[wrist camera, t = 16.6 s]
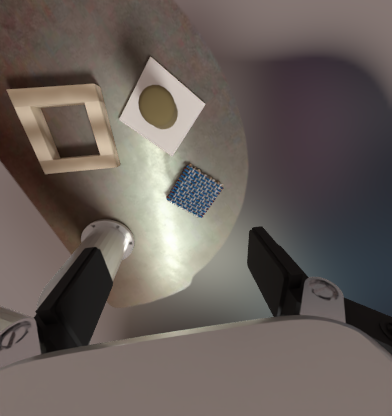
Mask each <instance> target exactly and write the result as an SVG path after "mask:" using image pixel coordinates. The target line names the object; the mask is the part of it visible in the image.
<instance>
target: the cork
mask: <svg viewBox="0 0 392 416" xmlns="http://www.w3.org/2000/svg"><path fill="white" fill-rule="evenodd" d="M138 104H139V110H140V113H141V115H142V117H143V118H144V119H145V121H147V122H148V123H149V124H151V125H153V126H155V127H156V128H159V129H168V128H170V127H172V126H173V125H174V124H175V122H176V120H177V117H178V110H177V106H176V104H175V102H174V99H173V97H172V95H171V93H170V92H169V91H168V90H167V89H166V88H165V87H162V86H160V85H150V86H147V87H146V88H145V89H144V90H143V91H142V92H141V94H140V96H139V101H138Z"/></svg>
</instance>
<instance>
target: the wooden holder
mask: <svg viewBox="0 0 392 416" xmlns="http://www.w3.org/2000/svg"><path fill="white" fill-rule="evenodd" d="M7 92H8V94H9V97H10V99H11V101H12V103H13V105H14V108H15V110H16V112H17V114H18V116H19V119H20V121H21V123H22V125H23V127H24V129H25V132H26V134H27V136H28V138H29V140H30V143H31V145H32V147H33V149H34V151H35V154H36V156H37V158H38V160H39V162H40V165H41V167H42V169H43V171H44V173H45V174H51V173H61V172H72V171H82V170H93V169H103V168H113V167H118V166H120V161H119V157H118V153H117V149H116V145H115V142H114V138H113V134H112V130H111V126H110V122H109V119H108V115H107V111H106V107H105V103H104V99H103V96H102V92H101V88H100V87H99V86H98V85H96V84H82V85H67V86H52V87H37V88H23V89H8V90H7ZM84 104H85V106H86V110H87V113H88V116H89V120H90V123H91V126H92V129H93V133H94V136H95V139H96V143H97V146H98V149H99V153H100V154H99V155H88V156H77V157H66V158H60V155H59V153H58V150H57V148H56V145H55V143H54V140H53V138H52V135H51V133H50V131H49V128H48V126H47V123H46V121H45V118H44V116H43V113H42V111H41V108H44V107H57V106H71V105H84Z"/></svg>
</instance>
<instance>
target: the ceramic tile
mask: <svg viewBox="0 0 392 416" xmlns="http://www.w3.org/2000/svg"><path fill="white" fill-rule="evenodd" d="M150 85H160V86H162V87H165V88H166V89H167V90H168V91H169V92H170V93H171V95H172V97H173V99H174V102H175V104H176V106H177V110H178V117H177V120H176V122H175V124H174V125H173V126H172V127H170V128H168V129H159V128H156V127H155V126H153V125H151V124H149V123H148V122H147V121H145V119H144V118H143V117H142V115H141V113H140V110H139V104H138V101H139V96H140V94H141V92H142V91H143V90H144V89H145V88H146V87H147V86H150ZM204 106H205V103H204V102H202V101H201V100H200V99H199V98H198V97H197V96H195V95H194V94H193V93H192V92H191V91H190V90H189V89H187V88H186V87H185V86H184V85H183V84H182V83H180V82H179V81H178V80H177V79H176V78H175V77H174V76H172V75H171V74H170V73H169V72H168V71H167V70H165V69H164V68H163V67H162V66H161V65H160V64H159V63H157V62H156V61H155V60H154V59H153V58H152V57H150V58H149V60H148V62H147V64H146V66H145V68H144V70H143V72H142V74H141V76H140V78H139V81H138V83H137V85H136V87H135V89H134V91H133V93H132V95H131V97H130V99H129V101H128V103H127V105H126V107H125V109H124V111H123V113H122V115H121V117H120V119H119V120H120V121H122V122H123V123H124V124H126V125H127V126H129V127H130V128H132V129H133V130H135V131H136V132H138V133H139V134H140V135H142V136H143V137H145V138H146V139H148V140H149V141H151V142H152V143H153V144H155V145H156V146H158V147H159V148H161V149H162V150H164V151H165V152H166V153H168V154H169V155H171V156H173V155H174V153H175V151H176V150H177V148H178V147H179V145H180V144H181V142H182V140H183V139H184V137H185V136H186V134H187V132H188V131H189V129H190V128H191V126H192V125H193V123H194V121H195V120H196V118H197V117H198V115H199V114H200V112H201V110H202V109H203V107H204Z"/></svg>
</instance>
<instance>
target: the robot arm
mask: <svg viewBox="0 0 392 416" xmlns="http://www.w3.org/2000/svg"><path fill="white" fill-rule="evenodd" d="M81 242H82V243H81V245H80V246H79V247H78V248H77V249H76V250H75V252H74V253H73V254H72V255H71V257H70V258H69V259H68V260H67V261H66V263H65V264H64V265H63V266H62V267H61V268H60V270H59V271H58V272H57V273H56V274H55V276H54V277H53V278H52V279H51V280H50V281H49V283H48V284H47V285H46V286H45V288H44V289H43V291H42V293H41V295H40V298H39V300H38V304H37V310H36V316H35V317H31V316H28V315H25V314H22V313H20V312H17V311H14V310H11V309H9V308H6V307H3V306H0V416H392V317H390V316H388V315H385V314H383V313H380V312H378V311H376V310H373V309H371V308H368V307H366V306H363V305H361V304H358V303H356V302H353V301H351V300H349V299H346V298H344V297H343V294H342V292H341V290H340V289H339V288H338V287H337V286H336V285H335V284H333V283H332V282H330V281H328V280H326V279H324V278H320V277H310V278H309V277H308V276H307V275H306V274H305V273H304V272H303V271H302V270H301V268H300V267H299V266H298V265H297V264H296V263H295V262H294V261H293V260H292V258H291V257H290V256H289V255H288V254H287V253H286V252H285V250H284V249H283V248H282V247H281V246H279V245H278V244H277V243H276V242H275V241H274V240H273V238H272V237H271V236H270V235H269V234H268V233H267V232H266V230H265V229H264V228H263V227H253V228H252V230H250V231H249V245H248V259H247V264H248V268H249V270H250V272H251V274H252V276H253V278H254V280H255V281H256V283H257V285H258V287H259V289H260V291H261V293H262V295H263V297H264V299H265V301H266V303H267V304H268V307H269V309H270V310H271V312H272V314H273V316H274V317H271V318H262V319H255V320H247V321H241V322H235V323H227V324H220V325H214V326H207V327H200V328H194V329H187V330H181V331H174V332H168V333H162V334H156V335H149V336H142V337H136V338H130V339H124V340H118V341H112V342H105V343H100V344H93V345H90V341H91V337H92V335H93V332H94V330H95V328H96V325H97V323H98V320H99V318H100V315H101V313H102V310H103V308H104V306H105V303H106V301H107V298H108V296H109V293H110V291H111V289H112V286H113V280H114V277H115V275H116V273H117V270H118V268H119V266H120V263H121V261H122V260H123V259H125V258H126V257H128V256H129V255H130V254H131V252H132V250H133V248H134V243H135V241H134V237H133V234H132V232H131V231H130V230H129V229H128V228H127V227H126V226H125V225H123V224H122V223H120V222H117V221H114V220H109V219H102V220H97V221H94V222H92V223H90V224H89V225H88V226H87V227H86V228H85V229H84V230H83V232H82V235H81Z"/></svg>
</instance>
